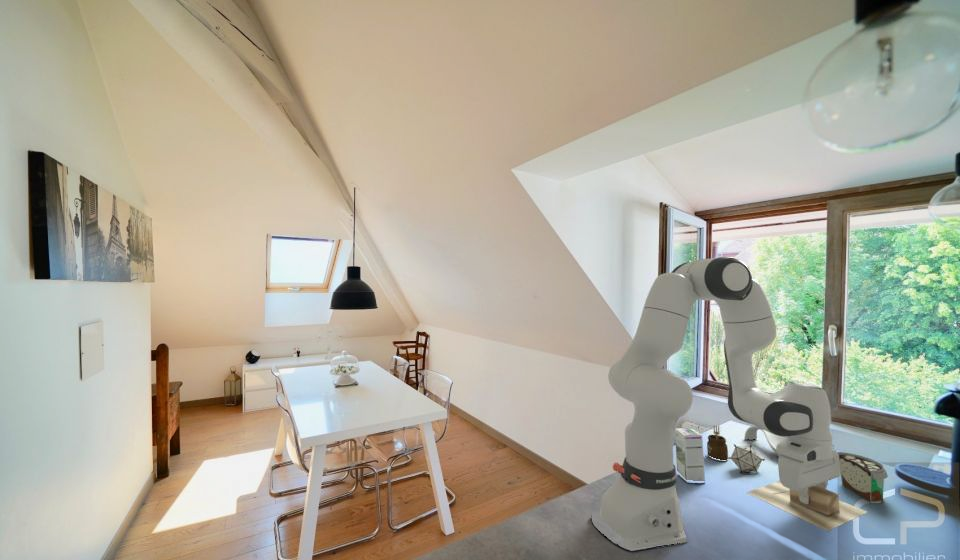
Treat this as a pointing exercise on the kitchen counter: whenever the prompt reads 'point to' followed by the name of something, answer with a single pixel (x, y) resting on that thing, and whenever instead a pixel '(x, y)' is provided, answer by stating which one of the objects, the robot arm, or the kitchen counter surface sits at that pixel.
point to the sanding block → (819, 500)
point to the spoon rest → (770, 437)
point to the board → (781, 499)
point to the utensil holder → (717, 446)
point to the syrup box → (689, 454)
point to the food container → (863, 476)
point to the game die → (746, 459)
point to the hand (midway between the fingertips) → (812, 499)
